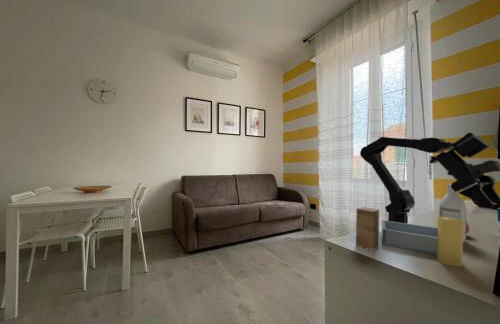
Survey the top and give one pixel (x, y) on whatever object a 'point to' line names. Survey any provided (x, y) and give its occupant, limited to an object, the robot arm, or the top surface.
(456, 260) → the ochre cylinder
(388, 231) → the tray
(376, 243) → the walnut block
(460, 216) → the bath foam
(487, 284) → the top surface
